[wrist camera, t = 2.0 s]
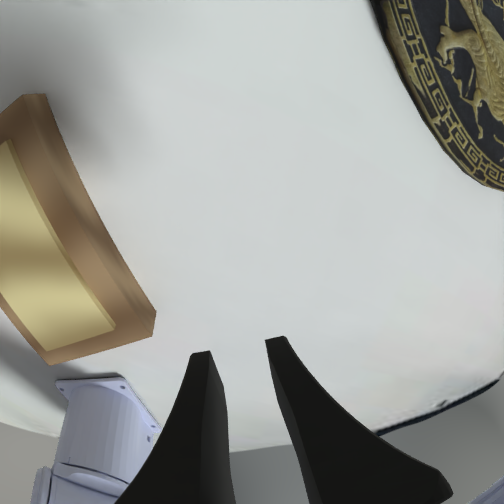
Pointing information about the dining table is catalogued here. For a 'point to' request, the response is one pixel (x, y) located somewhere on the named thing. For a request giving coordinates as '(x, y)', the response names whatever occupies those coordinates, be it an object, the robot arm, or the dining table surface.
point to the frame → (59, 247)
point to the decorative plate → (453, 75)
